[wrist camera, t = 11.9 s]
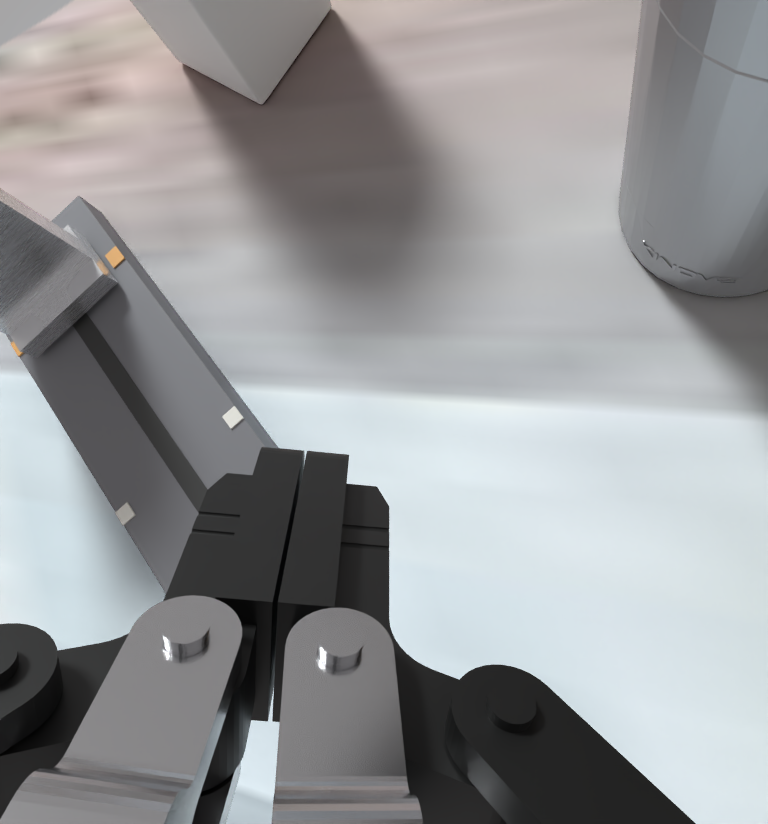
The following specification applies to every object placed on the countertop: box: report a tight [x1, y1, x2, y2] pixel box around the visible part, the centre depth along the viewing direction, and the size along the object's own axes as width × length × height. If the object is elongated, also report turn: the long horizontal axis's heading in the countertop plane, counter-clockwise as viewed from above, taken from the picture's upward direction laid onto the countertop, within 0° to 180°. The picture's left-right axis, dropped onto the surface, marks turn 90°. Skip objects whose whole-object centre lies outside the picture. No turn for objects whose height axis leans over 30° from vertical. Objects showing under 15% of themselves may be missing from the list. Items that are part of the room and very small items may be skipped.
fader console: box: [6, 196, 278, 593], centre depth 36 cm, size 22×8×2 cm, turn 39°
